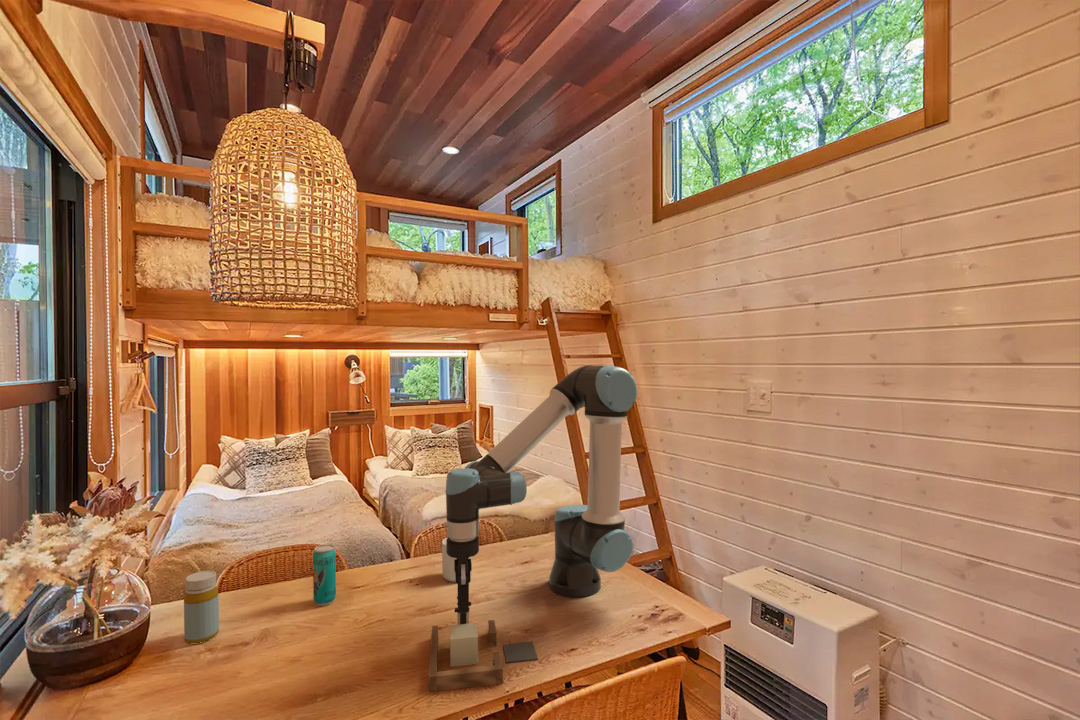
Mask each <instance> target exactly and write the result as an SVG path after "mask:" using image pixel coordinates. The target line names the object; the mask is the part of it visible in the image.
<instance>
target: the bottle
mask: <svg viewBox="0 0 1080 720" xmlns="http://www.w3.org/2000/svg"><path fill="white" fill-rule="evenodd" d="M219 599H220V596H219V589H218V587H217V572H216V571H214V570H202V571H197V572H194V573H192V574H189V575H188V576H186V577H185V594H184V596H183V621H184V622H183V624H184V626H183V627H184V629H183V630H184V631H183V632H184V633H183V634H184V641H185V642H186V643H187V644H189V643H200V642H204V641H206V642H208V641H207V640H209V639H211V638H213V637H214V636H215V635H216V636H217V635H218V634H219V632H220V616H219V615H220V608H219V605H220V604H219V603H220V602H219ZM216 636H215V637H216ZM215 637H214V638H215ZM214 638H213V639H214ZM211 640H212V639H211ZM209 641H210V640H209ZM204 643H205V642H204ZM200 644H201V643H200Z"/></svg>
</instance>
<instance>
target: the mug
mask: <svg viewBox="0 0 1080 720" xmlns="http://www.w3.org/2000/svg"><path fill="white" fill-rule="evenodd" d="M447 538H448V537H446V538H444V539H442V541H441V561H442V563H441V570H442V573H441V574H442V577H443V578H444V579H445V580H446V581H447V582H451V583H456V577H455V571H454V559H457V558H452V557H450V556H448V555H447V552H446V539H447ZM469 558H471V564H473V563H472V561H473V560H472V559H473V557H469ZM472 571H473V570H471V572H470V576H471V575H472Z"/></svg>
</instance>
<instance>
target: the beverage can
mask: <svg viewBox="0 0 1080 720" xmlns="http://www.w3.org/2000/svg"><path fill="white" fill-rule="evenodd" d="M313 551H314V552H313V553H312V585H313V586H312V587H313V591H312V593H313V594H312V595H313V596H312V597H313V601H314V603H315V604H316V606H318V607H319V606H320V607H326V606H329V605H331V604H332V603H334V601H335V599H336V596H337V579H336V578H337V574H336V573H337V571H336V570H337V569H336V568H337V566H336V565H337V561H336V560H337V559H336V556H337V555H336V552H337V551H336V550H335V545H333V544H323V545H318V546H316V547H315V548H314V549H313Z"/></svg>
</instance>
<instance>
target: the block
mask: <svg viewBox="0 0 1080 720" xmlns="http://www.w3.org/2000/svg"><path fill="white" fill-rule="evenodd" d="M449 627H450V629H449V634H450V635H449V647H450V649H449V651H450V652H449V656H450V658H449V659H450V660H449V661H450V662H449V663H450V666H449V667H460V666H470V665H471V666H472V665H478V664H479V640H478V639H479V636H478V625H477V622H469V624H458V625H457V624H450V626H449Z"/></svg>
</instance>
